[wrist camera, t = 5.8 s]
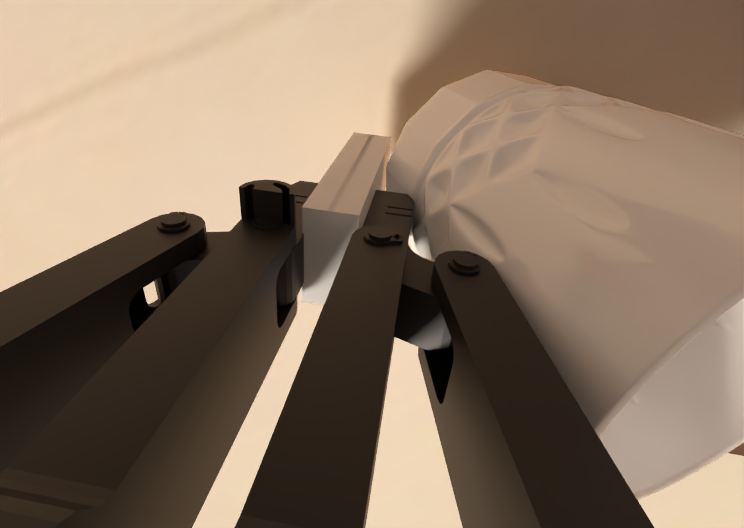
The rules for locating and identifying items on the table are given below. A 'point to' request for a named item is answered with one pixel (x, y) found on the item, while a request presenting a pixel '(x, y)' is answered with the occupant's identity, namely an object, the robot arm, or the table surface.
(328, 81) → the table surface
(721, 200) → the white cup
